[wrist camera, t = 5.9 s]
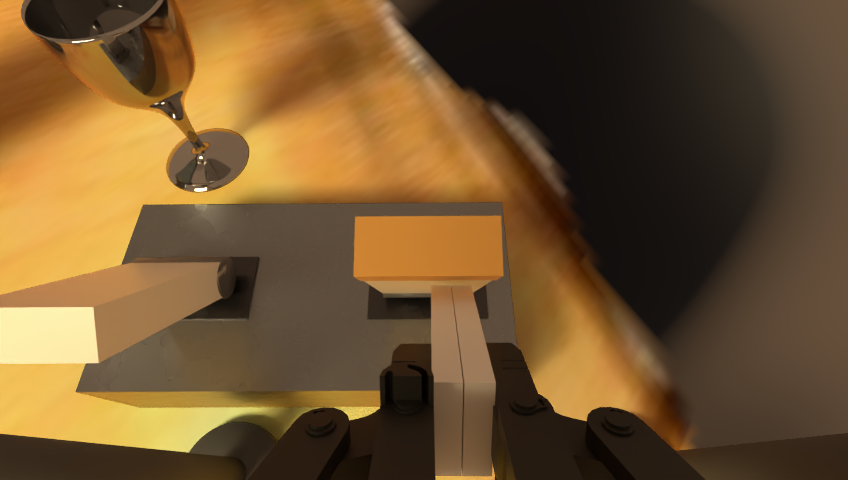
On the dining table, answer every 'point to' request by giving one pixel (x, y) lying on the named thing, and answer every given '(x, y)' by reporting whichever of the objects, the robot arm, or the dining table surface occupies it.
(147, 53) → the wine glass
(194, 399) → the panel
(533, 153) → the dining table surface
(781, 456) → the post
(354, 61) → the dining table surface
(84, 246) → the dining table surface
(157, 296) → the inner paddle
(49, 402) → the dining table surface
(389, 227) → the panel
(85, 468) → the post
